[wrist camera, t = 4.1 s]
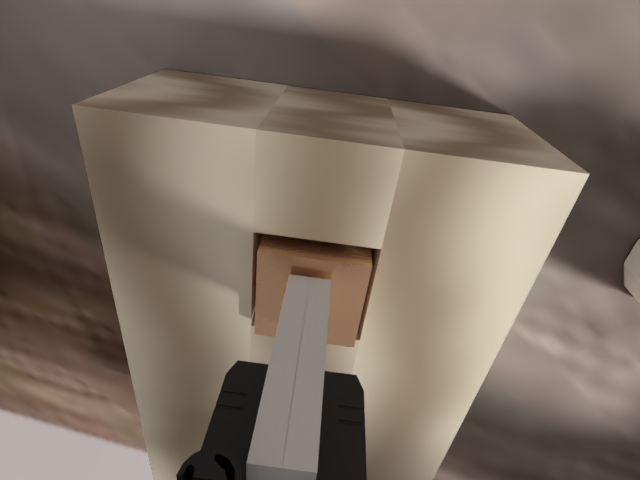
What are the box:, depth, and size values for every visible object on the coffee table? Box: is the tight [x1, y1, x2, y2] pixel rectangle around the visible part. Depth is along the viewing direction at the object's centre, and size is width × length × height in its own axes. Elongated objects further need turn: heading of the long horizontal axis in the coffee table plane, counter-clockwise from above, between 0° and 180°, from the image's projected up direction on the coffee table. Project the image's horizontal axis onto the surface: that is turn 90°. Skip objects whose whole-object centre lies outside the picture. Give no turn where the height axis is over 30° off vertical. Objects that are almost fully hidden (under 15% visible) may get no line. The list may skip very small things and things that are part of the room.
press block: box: [72, 69, 590, 480], centre depth 21 cm, size 16×24×7 cm, turn 174°
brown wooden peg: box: [255, 234, 372, 348], centre depth 17 cm, size 4×4×6 cm
